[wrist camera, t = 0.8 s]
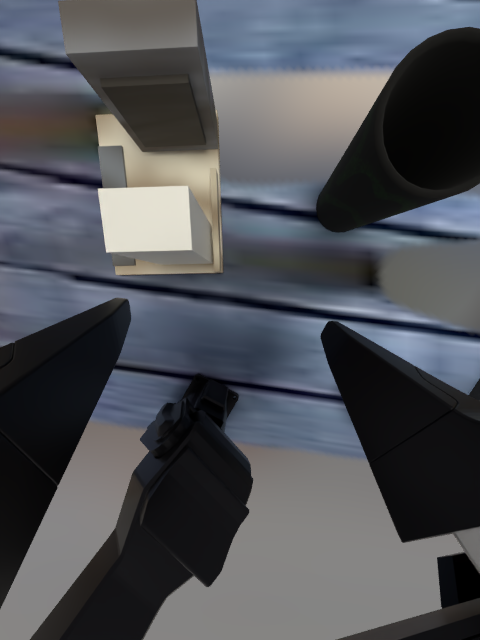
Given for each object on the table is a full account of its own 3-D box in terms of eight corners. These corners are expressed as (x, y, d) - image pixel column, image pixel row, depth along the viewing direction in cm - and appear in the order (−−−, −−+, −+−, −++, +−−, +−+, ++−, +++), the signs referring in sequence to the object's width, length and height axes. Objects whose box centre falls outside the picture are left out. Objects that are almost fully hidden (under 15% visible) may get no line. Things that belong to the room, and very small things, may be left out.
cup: (292, 213, 22) (346, 135, 11) (338, 151, 21) (456, -16, 9) (344, 255, 23) (448, 226, 11) (391, 198, 22) (563, 96, 10)
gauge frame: (223, 273, 24) (207, 265, 14) (121, 275, 24) (35, 268, 14) (218, 117, 21) (194, -31, 11) (102, 122, 21) (-21, -17, 11)
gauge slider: (213, 263, 22) (192, 250, 14) (122, 265, 23) (43, 253, 14) (211, 226, 22) (188, 185, 13) (117, 228, 22) (31, 191, 13)
